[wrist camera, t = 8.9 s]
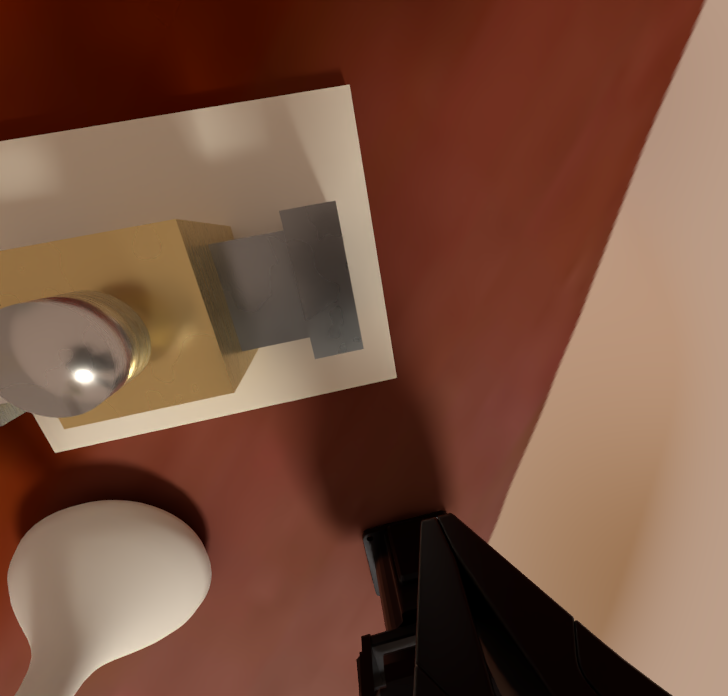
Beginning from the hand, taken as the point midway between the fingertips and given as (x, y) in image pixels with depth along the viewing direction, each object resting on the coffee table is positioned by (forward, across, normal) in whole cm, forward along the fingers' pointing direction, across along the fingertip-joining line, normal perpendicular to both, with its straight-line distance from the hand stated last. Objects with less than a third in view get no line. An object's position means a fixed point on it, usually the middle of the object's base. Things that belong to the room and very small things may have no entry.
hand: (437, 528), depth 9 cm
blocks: (+13, +8, -6) cm, 17 cm away
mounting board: (+13, +8, -7) cm, 17 cm away
